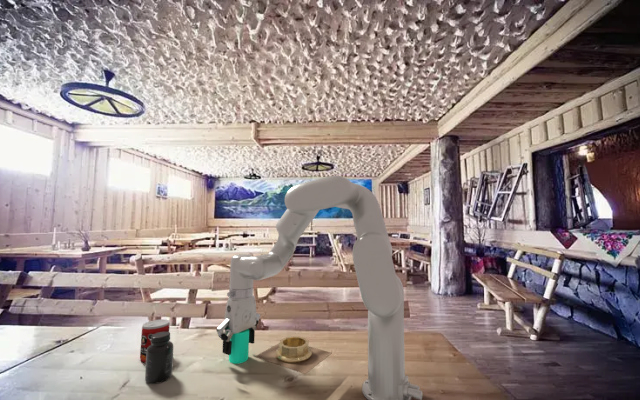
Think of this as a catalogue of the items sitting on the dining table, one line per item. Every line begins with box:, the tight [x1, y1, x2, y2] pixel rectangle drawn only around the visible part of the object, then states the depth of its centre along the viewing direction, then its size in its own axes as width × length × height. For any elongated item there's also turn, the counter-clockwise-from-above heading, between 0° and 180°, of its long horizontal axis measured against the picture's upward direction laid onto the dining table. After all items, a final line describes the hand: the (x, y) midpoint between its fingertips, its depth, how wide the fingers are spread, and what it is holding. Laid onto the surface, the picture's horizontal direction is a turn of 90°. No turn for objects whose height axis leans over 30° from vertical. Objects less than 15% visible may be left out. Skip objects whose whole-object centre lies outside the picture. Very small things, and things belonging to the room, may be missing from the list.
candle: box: [228, 329, 250, 365], centre depth 88 cm, size 6×6×12 cm
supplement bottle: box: [144, 331, 174, 385], centre depth 80 cm, size 7×7×12 cm
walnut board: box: [254, 343, 332, 375], centre depth 91 cm, size 20×16×2 cm
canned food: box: [139, 318, 171, 363], centre depth 92 cm, size 8×8×11 cm
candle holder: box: [276, 335, 312, 363], centre depth 91 cm, size 12×12×4 cm
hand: (239, 347), depth 88 cm, fingers open, 9 cm apart
